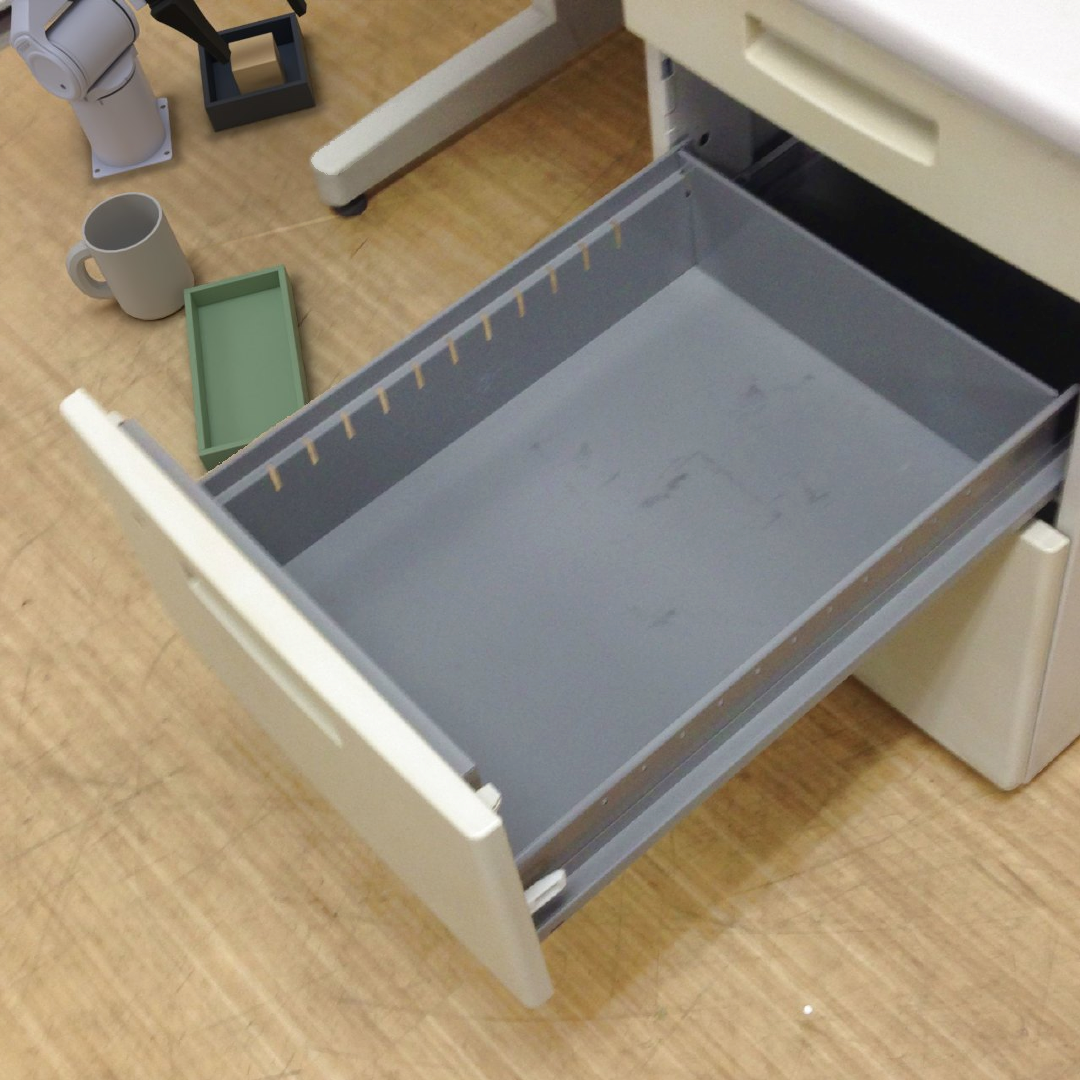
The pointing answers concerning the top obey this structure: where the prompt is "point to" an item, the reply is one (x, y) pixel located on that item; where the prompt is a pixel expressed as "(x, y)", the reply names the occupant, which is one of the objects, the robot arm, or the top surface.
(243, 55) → the block
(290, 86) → the dark grey open box
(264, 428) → the tray
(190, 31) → the robot arm
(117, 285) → the cup
